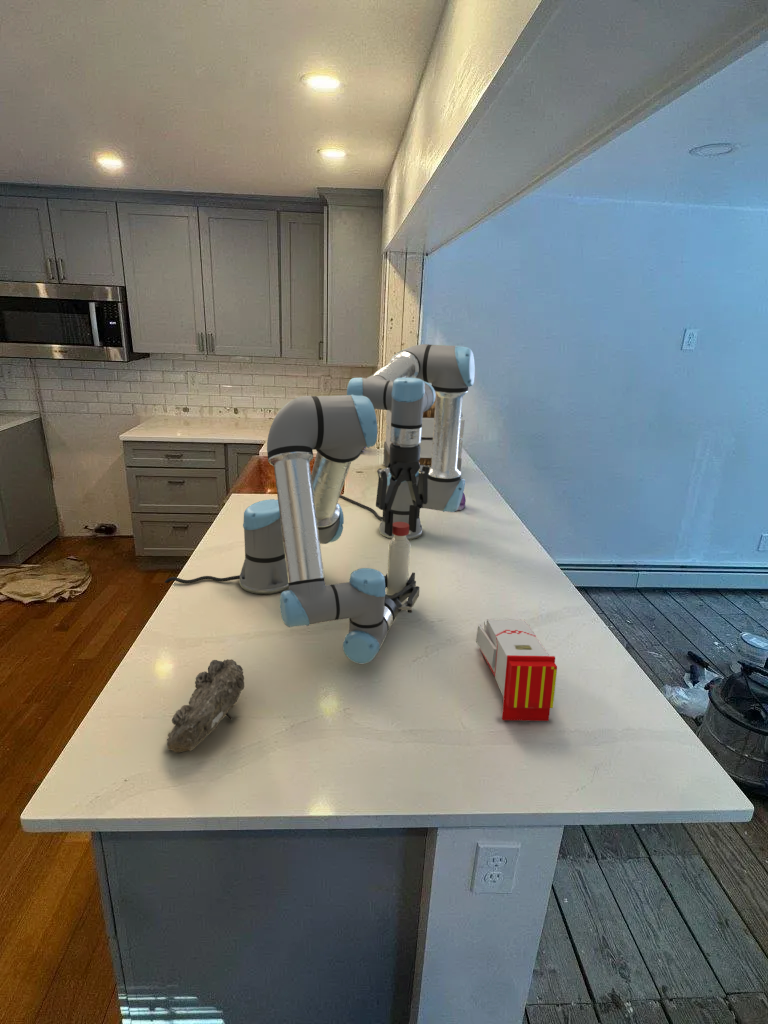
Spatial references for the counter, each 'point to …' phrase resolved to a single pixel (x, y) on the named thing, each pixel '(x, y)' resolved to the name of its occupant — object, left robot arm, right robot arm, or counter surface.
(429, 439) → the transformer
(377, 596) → the left robot arm
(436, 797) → the counter surface
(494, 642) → the toy
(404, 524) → the cap
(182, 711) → the fossil
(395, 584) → the bottle
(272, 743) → the counter surface
